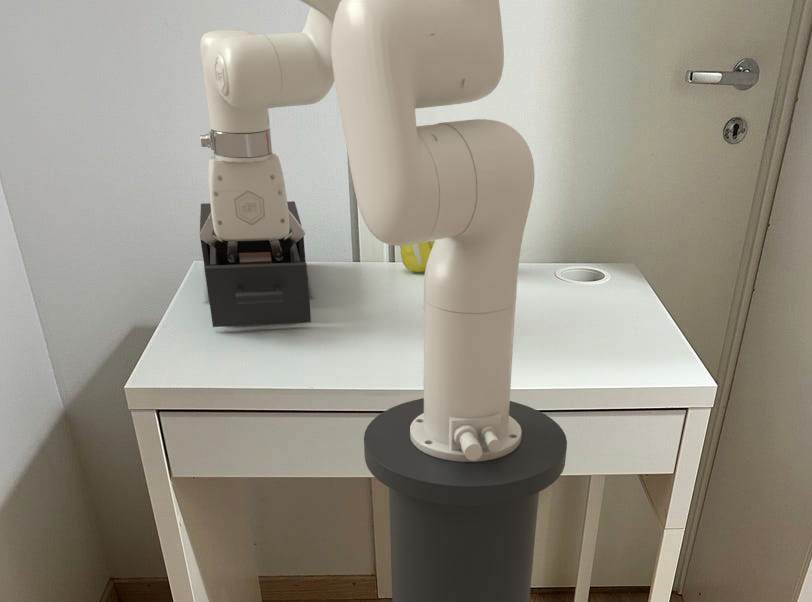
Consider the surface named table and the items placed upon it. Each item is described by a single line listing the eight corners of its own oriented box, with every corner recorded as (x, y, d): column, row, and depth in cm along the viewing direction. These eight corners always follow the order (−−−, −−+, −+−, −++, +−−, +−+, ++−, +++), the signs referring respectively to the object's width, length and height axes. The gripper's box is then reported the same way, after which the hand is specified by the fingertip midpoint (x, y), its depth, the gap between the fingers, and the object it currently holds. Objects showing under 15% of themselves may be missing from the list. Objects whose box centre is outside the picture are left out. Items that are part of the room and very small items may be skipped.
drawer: (313, 333, 124) (309, 274, 119) (213, 338, 121) (204, 278, 117) (302, 285, 140) (297, 231, 135) (212, 289, 137) (205, 234, 132)
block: (275, 293, 129) (271, 260, 126) (243, 294, 128) (239, 262, 125) (273, 283, 132) (270, 251, 129) (242, 284, 131) (238, 253, 129)
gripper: (174, 151, 114) (197, 299, 125) (309, 149, 117) (320, 293, 128) (176, 140, 120) (198, 282, 131) (305, 138, 123) (315, 277, 134)
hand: (258, 286), depth 130 cm, fingers closed on block, 4 cm apart
